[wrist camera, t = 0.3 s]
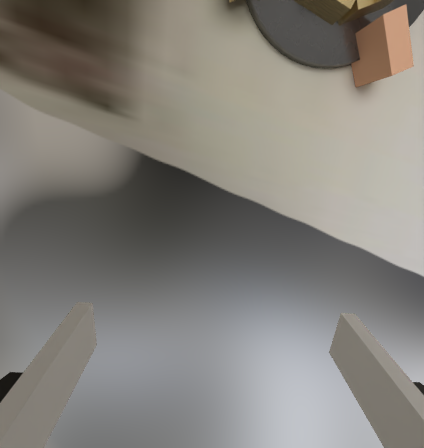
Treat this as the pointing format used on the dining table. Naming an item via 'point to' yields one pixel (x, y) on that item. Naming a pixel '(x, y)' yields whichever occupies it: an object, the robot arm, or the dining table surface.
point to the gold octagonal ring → (341, 8)
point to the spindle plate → (317, 31)
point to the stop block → (383, 47)
